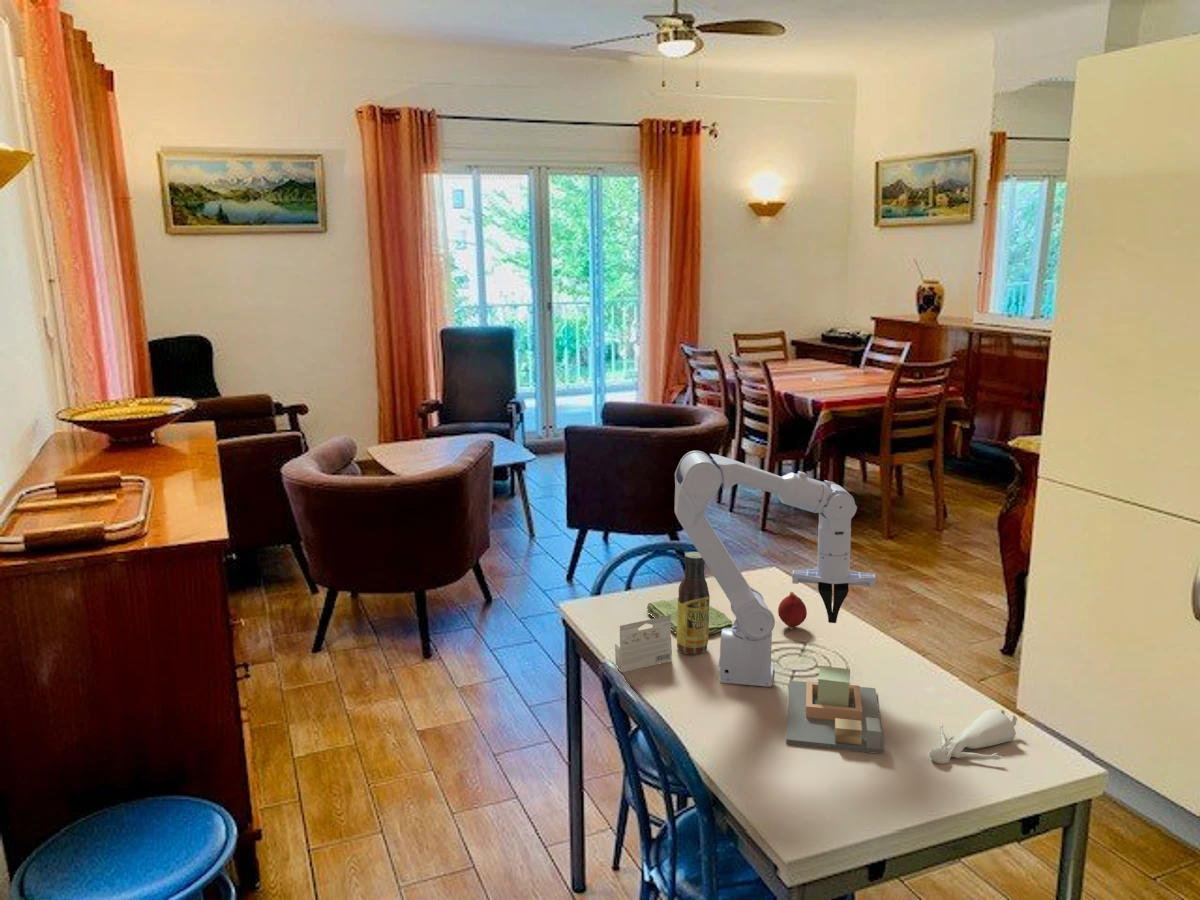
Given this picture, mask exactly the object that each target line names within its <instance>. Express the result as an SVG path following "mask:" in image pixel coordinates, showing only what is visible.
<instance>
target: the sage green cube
mask: <svg viewBox="0 0 1200 900" xmlns="http://www.w3.org/2000/svg"><path fill="white" fill-rule="evenodd" d="M850 678H851V668H843V667H837V666H836V667H835V666H825V665H819V673H818V679H817V682H818V700H817V705H828V706H838V707H848V704H849V685H851V684H850V683H851V681H850V680H851V679H850Z"/></svg>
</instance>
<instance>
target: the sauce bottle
mask: <svg viewBox="0 0 1200 900" xmlns="http://www.w3.org/2000/svg"><path fill="white" fill-rule="evenodd" d="M684 562H685V568H684V577H683V579H682V580H681V582H680V584H679V586H678V597H677V598H678V612H677V634H676V648H677V651H678V652H680V653H682V654H684V655H689V656H691V655H692V656H696V655H697V656H698V655H701V654H703V653H705V652H706V651H707V650H708V644H709V635H708V629H709V606H710V597H711V596H710V592H709V587H708V582H707V581H706V578H705V565H706V563H705V561H704V560H703V558H702V557H701V555H700V554H699V552H698V551H689V552H686V553H685V554H684Z"/></svg>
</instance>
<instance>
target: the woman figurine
mask: <svg viewBox="0 0 1200 900" xmlns="http://www.w3.org/2000/svg"><path fill="white" fill-rule="evenodd" d="M1005 712H1006V711H1004V709H1001V711H998V710H996V709H993V708H992V709H991V708H990V709H985V711H983V712H982V713H981V714H980V715H979V716H978V717H977V718H976V719H975V720H974V721H973V722H971V723H970V724H969V725H968V726H967V727H966V728H964V729H963V730H962V731H961V732H960V733H959V735H958V737H957V738H955V736H954V735H951V736H949V738H948V739H947V740H946V736H945V734H944V731H943V730H944V729H943V728H944V723H942V724H941V722H939V732H940V741H941V744H940V745H939V746H936V747H934V748H931V750H930V752H929V758H930V759H931V761H932V762H934V763H936V764H940V765H945V764H948V763H950V761H951V758H956V759H959V758H976V759H977V758H980V759H981V758H982V759H993V760H1002V759H1003V755H998V754H999V752H995V753H992V754H982V753H981V754H980V753H975V752H966V751H963V750H964V749H965V748H968V749H972V750H976V749H982V748H988V746H989V747H994V746H996V745H1000V743H1001V744H1004V743H1008V742H1011V741H1014V739H1015V737H1016V735H1017V732H1016V729H1015V726H1016V725H1017V721H1018V718H1017V717H1016V715H1014V714H1013V715H1012V719H1010V718H1009V717H1008V716H1007V715H1006V714H1005ZM993 745H994V746H993Z"/></svg>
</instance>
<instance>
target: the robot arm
mask: <svg viewBox="0 0 1200 900" xmlns="http://www.w3.org/2000/svg"><path fill="white" fill-rule="evenodd" d="M678 462H679V463H678V465H677V467H676V469H675V472H674V484H675V485H674V486H675V487H674V509H673V510H674V514H675V516H676V519H677V520H678V522H679V524H680V525H681V527H682V528H683V531H685V533H686V535H687V536H688V538H689V540H690V541H691V543H692V544H693V546H694V547H695V549H696V551H697V552H699V554H700V555H701V557H702V558H703V560H704V561H705V565H706V566H707V567H708V569H709V571H710V572H711V575H713V578H715V580H716V581H717V583H718V585H719V586H720V588H721V590H722V591H723V593H724V594H725V596H726V597H727V599H728V600H729V603H730V609H731V612H732V613H733V615H734V617H735V620H734V622H733V623H732V624H733V626H732V628H727V629H722V631H720V632H721V633H720V644H719V647H720V648H719V651H720V652H719V661H718V666H719V682H720V683H722V684H734V685H743V686H745V685H746V686H755V687H756V686H757V687H768V688H771V687H772V686H773V681H774V679H773V678H774V670H775V669H774V665H773V664H772V641H773V640H772V639H773V638H772V636H773V635H772V634H773V631H774V628H775V624H776V622H775V621H776V620H775V616H774V614H773V612H772V611H771V610H770V608H769V607H768V605H767V604H766V602H765V599H764V597H763V595H762V594H761V593H760V592H759V591H758V590H756V589H754V588H753V587H751V585H749V583H748V581H747V580H746V578H745V577H744V575H743V574H742V572H741V571H740V569H739V567H738V566H737V564H736V562H735V561H734V559H733V558H732V557H731V554H730V552H728V550H727V548H726V546H725V545H724V544H723V541H722V540H721V539H720V537H719V536H718V534H717V533H716V531H715V529H714V527H713V526H712V525H711V523H710V521H709V520H708V518H707V517H706V515H705V512H706V509H707V507H708V504H709V502H710V501H711V500H712V498H713V497H714V496H715V495H716V493H717V492H718V491H719V490H720V487H721V488H722V490H723V491H725V490H727V489H730V488H731V487H733V486H735V485H740V486H741V485H742V486H745V487H748V488H753V489H756V490H761V491H763V492H768V493H771V494H776V496H777V497H778V499H779V501H780V502H781V503H782V504H783V505H787V506H791V507H794V508H797V509H799V510H803V511H806V512H810V513H812V514H813V513H814V514H818V525H817V560H816V561H817V564H816V565H817V567H816V568H813V569H811V568H810V569H793V570H792V578H791V579H792V580H791V581H792V584H794V585H796V584H799V583H802V584H803V583H804V584H817V590H818V593H819V595H820V598H821V600H822V601H823V604H824V606H825V607H824V608H825V609H826V614H827V619H828V624H836V623H837V622H838V621H837V620H838V616H839V612H840V609H841V607H842V605H843V603H844V601H845V599H846V597H847V596H848V594H849V590H850V589H849V586H864V587H869V588H876V574H875V573H867V572H861V571H855V570H851V569H850V568H851V545H852V544H851V536H852V528H851V526H852V525H851V524H852V518H853V517H854V516H855V514H856V513H857V510H858V506H857V505H856V502H855V499H854V497H853V495H852V494H850V493H849V492H848V491H847V490H846V489H845V488H843V487H842V486H841V485H839V484H837V483H836V482H834V481H829V480H826V479H824V481H821V480H818V479H815V478H811V477H808V474H807V473H805V472H804V471H801V470H798V471H797V473H794V472H793V471H792V472H788V473H787V474H784V475H782V476H780V475H778V474H775V473H772V472H769V471H766V470H764V469H761V468H758V467H755V466H752V465H749V464H746V463H744V462H741V461H738V460H735V459H733V458H729V457H725V456H722V455H719V454H716V453H715V454H714V453H709V455H708V454H707V453H705V452H704V451H701V450H691V451H688V452H687V453H685V454H684V455H683V456H682V458H680V461H678Z"/></svg>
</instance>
